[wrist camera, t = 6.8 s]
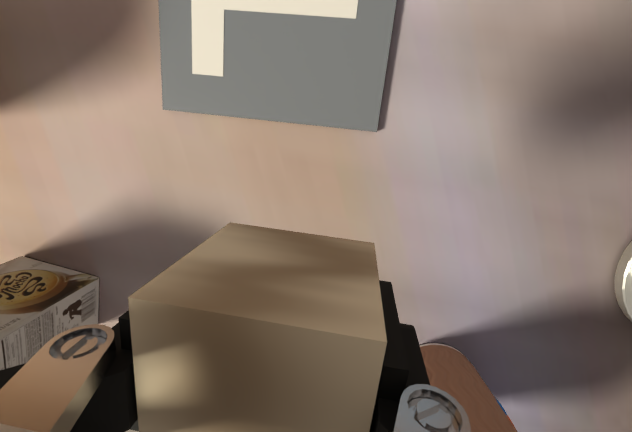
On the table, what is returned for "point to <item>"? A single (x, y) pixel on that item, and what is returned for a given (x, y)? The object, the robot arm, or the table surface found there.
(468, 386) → the coffee cup
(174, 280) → the wood block
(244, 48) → the letter board
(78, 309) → the coffee box
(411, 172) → the table surface
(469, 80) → the table surface
